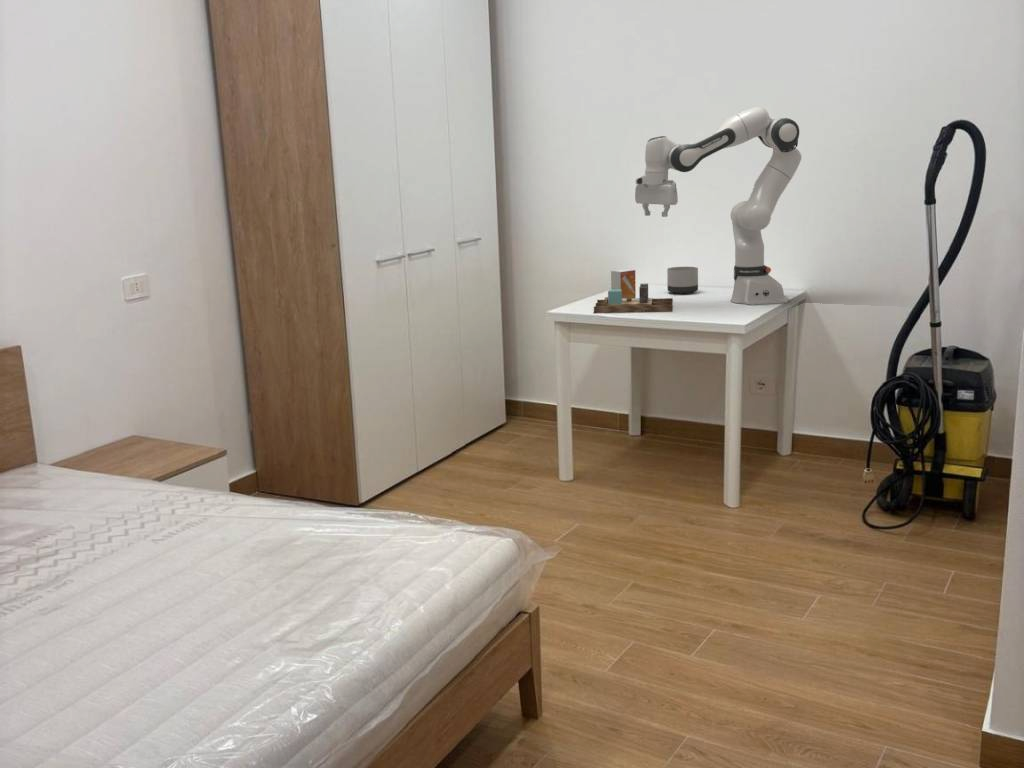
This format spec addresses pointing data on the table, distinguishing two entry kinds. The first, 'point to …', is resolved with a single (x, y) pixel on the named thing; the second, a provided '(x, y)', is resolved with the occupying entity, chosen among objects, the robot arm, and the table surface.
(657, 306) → the lane board
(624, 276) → the small box
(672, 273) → the planter
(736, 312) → the table surface
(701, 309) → the table surface
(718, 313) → the table surface
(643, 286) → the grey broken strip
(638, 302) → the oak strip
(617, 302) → the teal cube
